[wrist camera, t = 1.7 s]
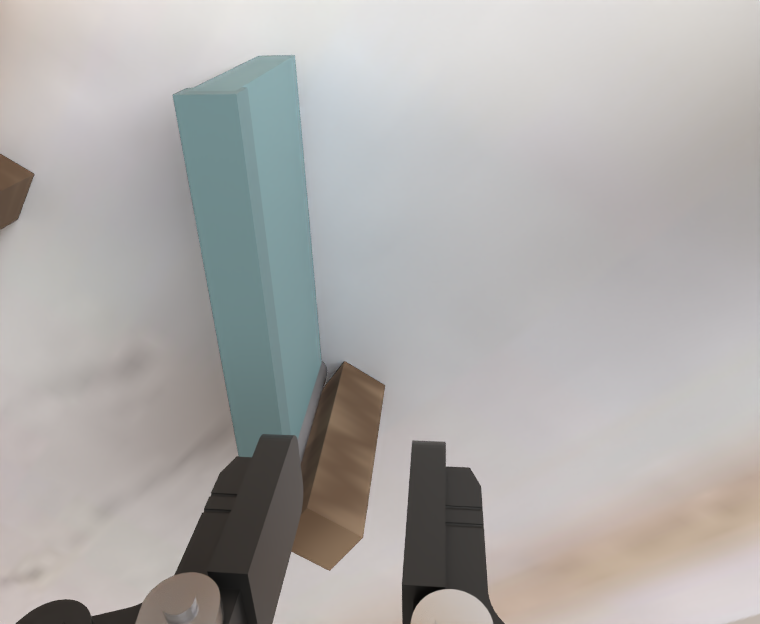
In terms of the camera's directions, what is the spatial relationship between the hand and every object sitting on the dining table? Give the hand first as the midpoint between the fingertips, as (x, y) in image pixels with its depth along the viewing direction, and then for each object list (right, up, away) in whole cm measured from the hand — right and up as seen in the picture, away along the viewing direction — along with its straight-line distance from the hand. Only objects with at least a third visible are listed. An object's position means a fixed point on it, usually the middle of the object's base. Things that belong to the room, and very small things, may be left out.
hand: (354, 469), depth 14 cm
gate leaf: (-4, +7, +18) cm, 20 cm away
